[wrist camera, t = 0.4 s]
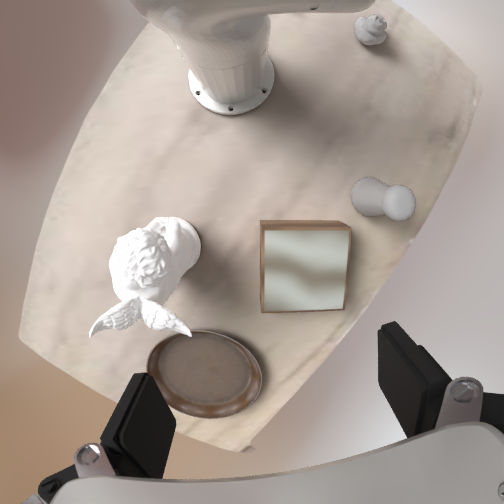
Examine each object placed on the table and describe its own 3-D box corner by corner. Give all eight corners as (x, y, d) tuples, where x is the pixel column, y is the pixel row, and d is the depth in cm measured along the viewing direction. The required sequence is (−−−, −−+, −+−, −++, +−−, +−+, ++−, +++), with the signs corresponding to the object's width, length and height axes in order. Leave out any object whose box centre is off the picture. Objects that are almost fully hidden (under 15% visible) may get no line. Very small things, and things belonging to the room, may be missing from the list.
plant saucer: (279, 343, 49) (281, 353, 46) (239, 418, 54) (239, 429, 51) (164, 304, 47) (158, 312, 44) (143, 388, 52) (138, 398, 49)
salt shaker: (364, 221, 44) (403, 239, 31) (339, 196, 43) (372, 205, 30) (386, 194, 43) (431, 203, 30) (362, 168, 42) (403, 168, 29)
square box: (260, 220, 44) (261, 227, 38) (338, 220, 44) (352, 227, 38) (260, 296, 47) (261, 314, 41) (333, 294, 47) (345, 310, 41)
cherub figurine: (177, 199, 43) (116, 218, 22) (236, 256, 45) (227, 323, 24) (129, 254, 45) (53, 310, 23) (184, 307, 47) (146, 394, 26)
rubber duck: (344, 36, 36) (359, 14, 28) (361, 15, 35) (377, -7, 27) (371, 55, 37) (391, 37, 29) (387, 34, 35) (407, 15, 28)
